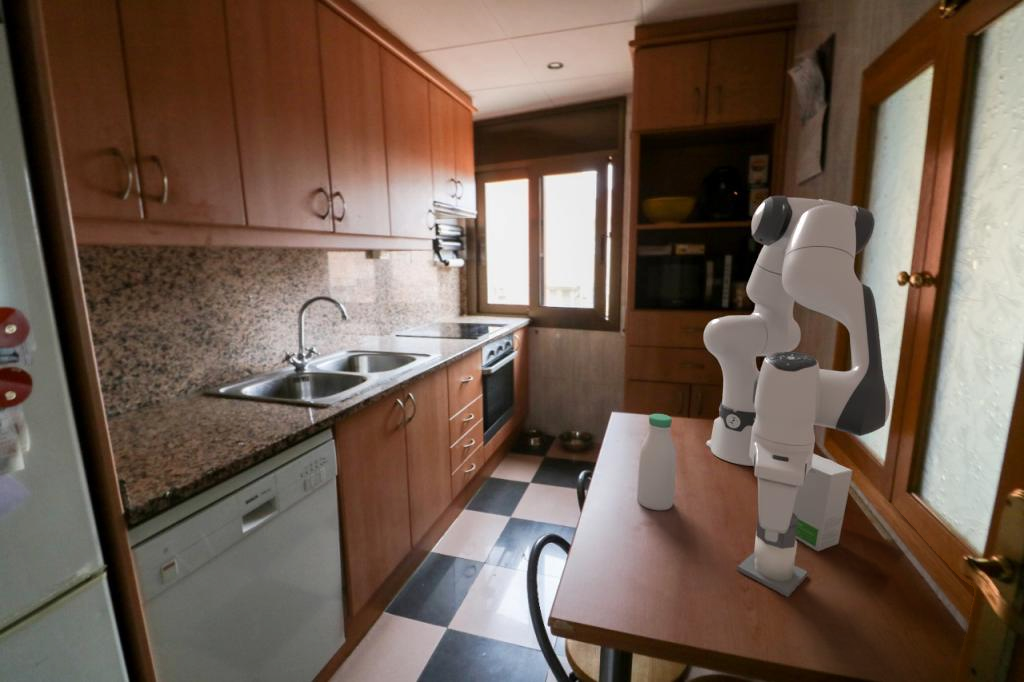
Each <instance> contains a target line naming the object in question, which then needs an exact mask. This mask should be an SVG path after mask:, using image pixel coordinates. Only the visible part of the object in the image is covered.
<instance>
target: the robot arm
mask: <svg viewBox="0 0 1024 682" xmlns="http://www.w3.org/2000/svg"><path fill="white" fill-rule="evenodd" d="M875 222H876V221H875V218H874V215H873V213H872V211H870V210H868V209H866V208H864V207H861V206H859V205H848V204H844V203H841V202H836V201H832V200H826V199H822V198H820V199H814V198H804V197H787V196H786V195H773V196H769V197H768V198H766V199H764V200H763V201H762V202H761V203H760V205H759V206H758V207H757V208H756V210H755V212H754V213H753V215H752V220H751V236H752V237H753V239H754V241H755V242H757V243H759V244H761V245H763V247H762V248H761V250H760V252H759V254H758V258H756V259H757V260H756V262H755V264H754V266H753V269H752V272H751V275H750V277H749V279H748V282H747V283H746V284H747V285H746V290H745V291H746V294H747V297H748V298H749V300H751V302H752V303H754V310H753V312H752V313H751V314H748V315H746V314H745V315H741V314H740V315H726V316H723V317H722V316H721V317H717V318H715V319H712V320H710V321H709V322H708V323H707V325H706V326H705V328H704V331H703V344H704V346H705V348H706V349H707V351H708V352H709V353H710V354H711V355H713V356H714V357H715V358H716V359H717V361H718V363H719V365H720V367H721V368H720V369H721V372H722V377H723V385H722V387H723V388H722V401H721V402H720V405H719V408H718V410H719V412H718V415H719V416H718V417H717V418H715V419H714V421H713V426H712V432H711V438H710V439H709V440H706V446H707V447H709V448H710V450H711V451H710V452H711V453H712V454H713V456H715V457H718V458H719V459H722V460H724V461H726V462H729V463H732V464H737V465H740V466H748V467H749V466H750V467H751V466H752V467H753V468H754V469H753V470H754V471H753V473H754V476H755V477H757V503H758V504H757V505H758V508H757V509H758V516H759V524H760V526H761V527H762V528H764V529H765V539H766V540H768V541H772V542H777V540H778V533H783V534H784V533H786V532H787V530H788V528H789V525H790V521H791V517H792V513H793V509H794V505H795V501H796V497H797V493H798V488H799V486H800V487H802V486H803V485H804V480H805V475H806V474H807V473H808V471H809V470H810V469H811V466H812V458H813V454H814V451H815V440H816V436H815V432H814V426H821V427H824V428H830V429H835V430H837V431H839V432H844V433H847V434H851V435H854V436H858V437H861V436H866V435H868V434H871V433H874V432H876V431H878V430H880V429H882V428H883V427H885V426H886V423H887V420H888V418H889V416H890V410H891V400H890V399H891V398H890V394H889V391H888V388H887V386H886V382H885V378H884V377H885V376H884V375H885V374H884V369H883V358H882V349H881V339H880V328H879V319H878V314H877V305H876V299H875V296H874V293H873V291H872V289H871V287H870V286H868V285H866V284H864V283H862V282H861V281H860V280H859V279H858V277H857V275H856V273H855V261H856V260H855V258H856V255H857V254H860V253H861V252H862V251H863V250H864V249H865V248H866V247H867V245H868V244H869V241H870V240H871V238H872V236H873V232H874V230H875ZM795 302H796V303H797V304H798V305H801V306H802V307H805V308H806V309H809V310H811V311H815V312H817V313H820V314H823V315H826V316H828V317H830V318H832V319H834V320H836V321H838V322H839V323H841V324H842V325H844V326H845V327H846V329H847V330H848V333H849V339H850V341H849V342H850V343H849V345H850V354H851V356H850V357H851V366H852V368H851V370H846V371H841V370H840V371H839V370H831V369H824V368H823V369H822V368H820V364H819V361H818V360H817V359H816V358H815V357H813V356H811V355H809V354H805V353H802V352H798V351H794V350H795V349H796V348H797V347H798V346H799V344H800V342H801V336H802V335H801V334H802V333H801V328H800V326H799V324H798V322H797V321H796V320H795V319H794V306H795ZM757 357H764V359H763V361H762V365H761V367H760V371H759V369H758V367H757V362H756V360H757V359H756V358H757Z"/></svg>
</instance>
